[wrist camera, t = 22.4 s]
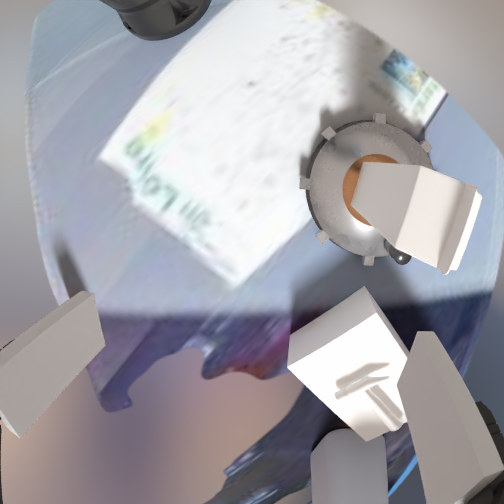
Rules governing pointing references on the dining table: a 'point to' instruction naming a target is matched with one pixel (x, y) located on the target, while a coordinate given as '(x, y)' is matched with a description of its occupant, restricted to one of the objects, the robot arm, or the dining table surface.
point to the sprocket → (345, 180)
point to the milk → (418, 210)
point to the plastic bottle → (349, 469)
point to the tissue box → (353, 364)
